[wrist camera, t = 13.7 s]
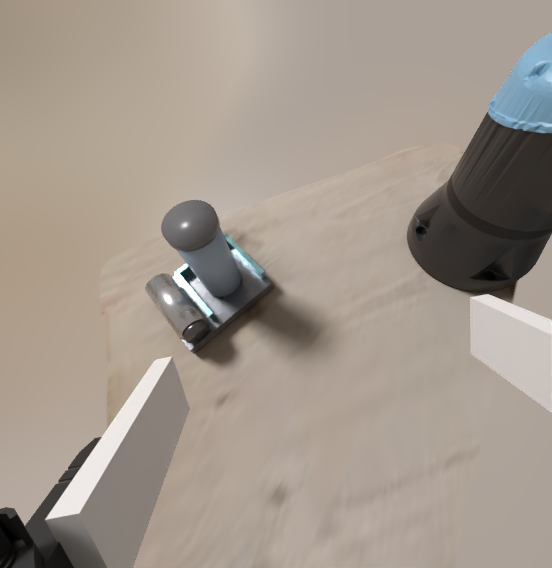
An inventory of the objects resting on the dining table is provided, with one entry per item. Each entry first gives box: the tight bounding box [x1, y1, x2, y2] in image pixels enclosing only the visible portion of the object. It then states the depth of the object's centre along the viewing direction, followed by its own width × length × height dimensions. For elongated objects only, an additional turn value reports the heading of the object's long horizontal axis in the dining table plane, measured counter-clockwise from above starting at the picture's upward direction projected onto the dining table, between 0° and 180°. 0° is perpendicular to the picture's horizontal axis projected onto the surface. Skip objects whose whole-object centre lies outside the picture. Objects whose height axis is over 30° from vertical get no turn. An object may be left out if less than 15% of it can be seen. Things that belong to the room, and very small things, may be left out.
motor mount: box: [145, 234, 273, 353], centre depth 37 cm, size 13×10×5 cm
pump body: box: [161, 200, 241, 297], centre depth 33 cm, size 5×5×12 cm
